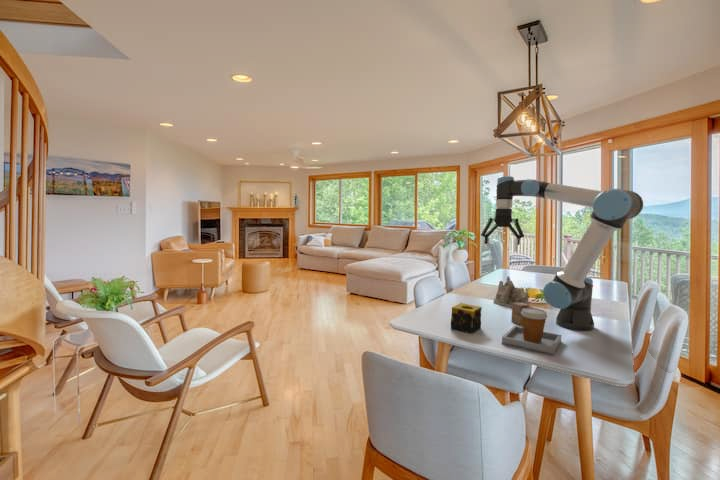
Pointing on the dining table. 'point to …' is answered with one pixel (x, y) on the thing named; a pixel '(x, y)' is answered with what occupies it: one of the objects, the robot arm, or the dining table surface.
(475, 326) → the tissue box
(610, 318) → the dining table surface
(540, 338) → the disposable coffee cup
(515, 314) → the walnut block
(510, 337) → the slate tray
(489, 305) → the dining table surface
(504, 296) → the grey jagged rock
